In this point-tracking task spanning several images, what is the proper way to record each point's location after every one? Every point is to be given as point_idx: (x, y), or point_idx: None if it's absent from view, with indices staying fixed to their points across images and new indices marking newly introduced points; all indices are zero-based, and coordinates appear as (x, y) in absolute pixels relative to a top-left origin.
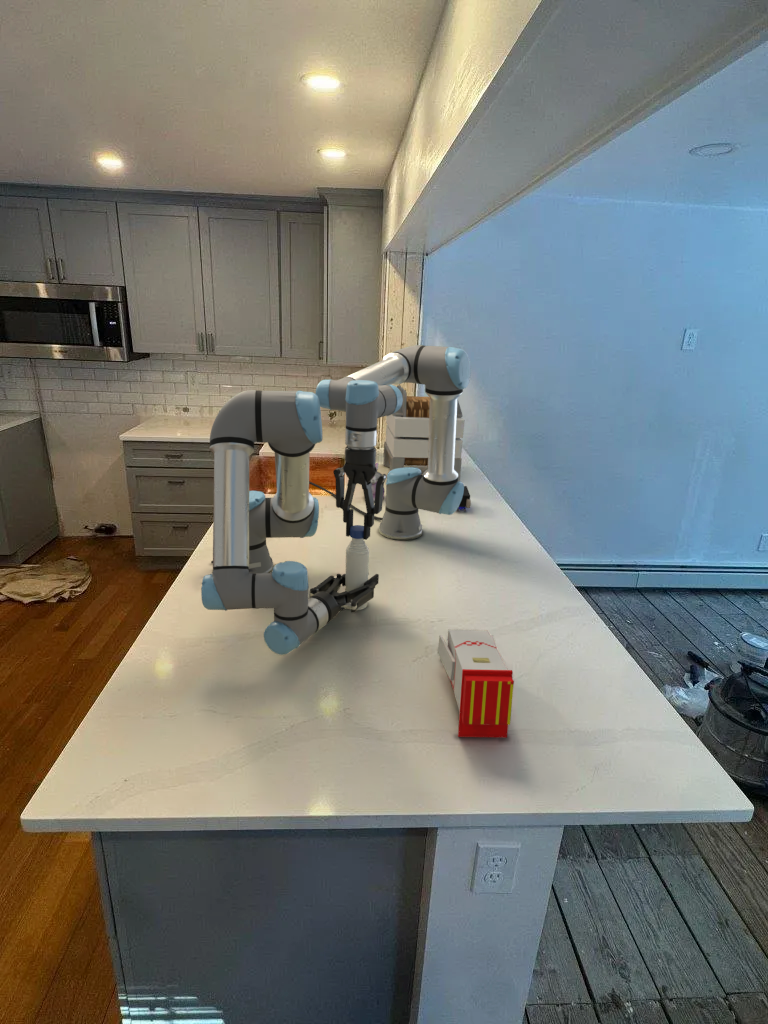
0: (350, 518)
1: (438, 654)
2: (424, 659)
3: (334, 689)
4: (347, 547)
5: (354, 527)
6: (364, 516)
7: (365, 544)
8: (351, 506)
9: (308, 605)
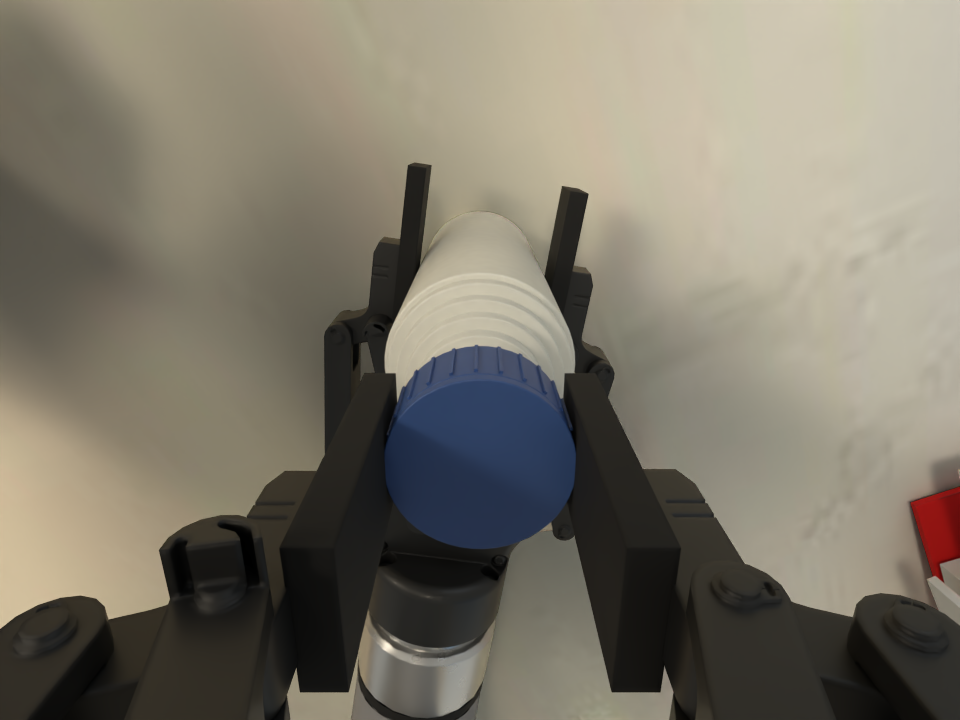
0: (365, 558)
1: (930, 588)
2: (842, 515)
3: (607, 712)
4: (397, 396)
5: (432, 471)
6: (612, 673)
7: (548, 373)
8: (263, 547)
9: (427, 714)
